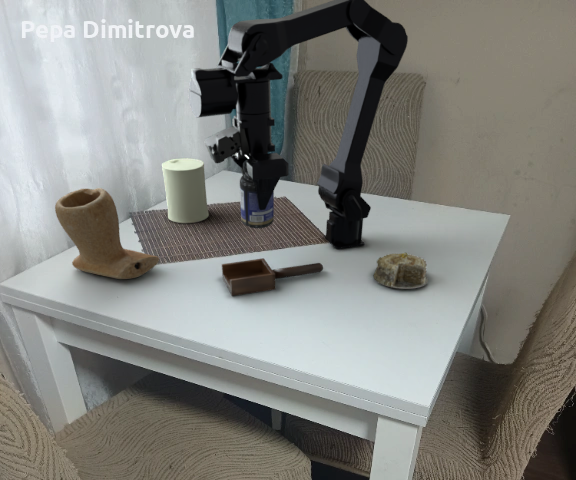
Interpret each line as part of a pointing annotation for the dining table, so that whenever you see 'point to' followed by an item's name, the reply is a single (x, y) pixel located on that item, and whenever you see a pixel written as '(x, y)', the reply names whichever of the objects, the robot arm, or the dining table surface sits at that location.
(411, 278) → the cake
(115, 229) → the clay pipe bowl
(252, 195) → the pill bottle
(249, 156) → the robot arm
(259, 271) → the scoop
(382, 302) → the dining table surface
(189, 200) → the can
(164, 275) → the dining table surface
